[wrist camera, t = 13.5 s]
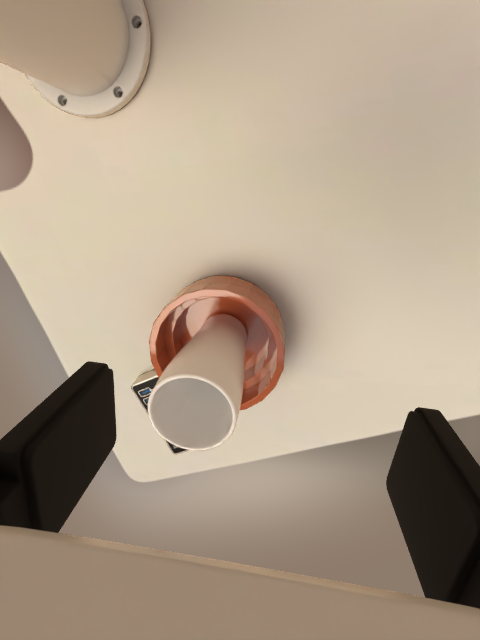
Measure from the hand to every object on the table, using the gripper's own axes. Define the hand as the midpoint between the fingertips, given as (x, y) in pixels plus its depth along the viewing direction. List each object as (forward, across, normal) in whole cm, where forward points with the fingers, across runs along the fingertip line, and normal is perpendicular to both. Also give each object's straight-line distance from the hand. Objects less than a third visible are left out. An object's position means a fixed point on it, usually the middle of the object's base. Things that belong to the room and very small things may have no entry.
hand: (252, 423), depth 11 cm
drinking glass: (+26, +4, +9) cm, 28 cm away
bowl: (+27, +4, +9) cm, 28 cm away
